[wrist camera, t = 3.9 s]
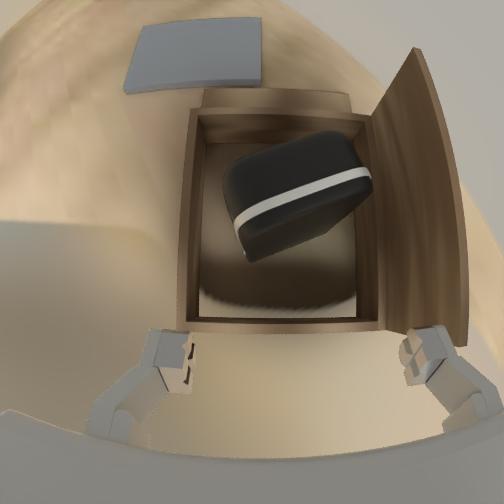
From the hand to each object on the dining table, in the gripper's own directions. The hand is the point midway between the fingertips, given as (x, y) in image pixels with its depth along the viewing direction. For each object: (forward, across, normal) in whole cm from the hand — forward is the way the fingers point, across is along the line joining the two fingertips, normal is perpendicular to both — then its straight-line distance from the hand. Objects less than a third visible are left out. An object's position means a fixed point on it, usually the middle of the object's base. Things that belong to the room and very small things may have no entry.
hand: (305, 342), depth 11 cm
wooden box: (+15, 0, +2) cm, 15 cm away
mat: (+26, +8, -9) cm, 29 cm away
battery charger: (+14, 0, +4) cm, 14 cm away
